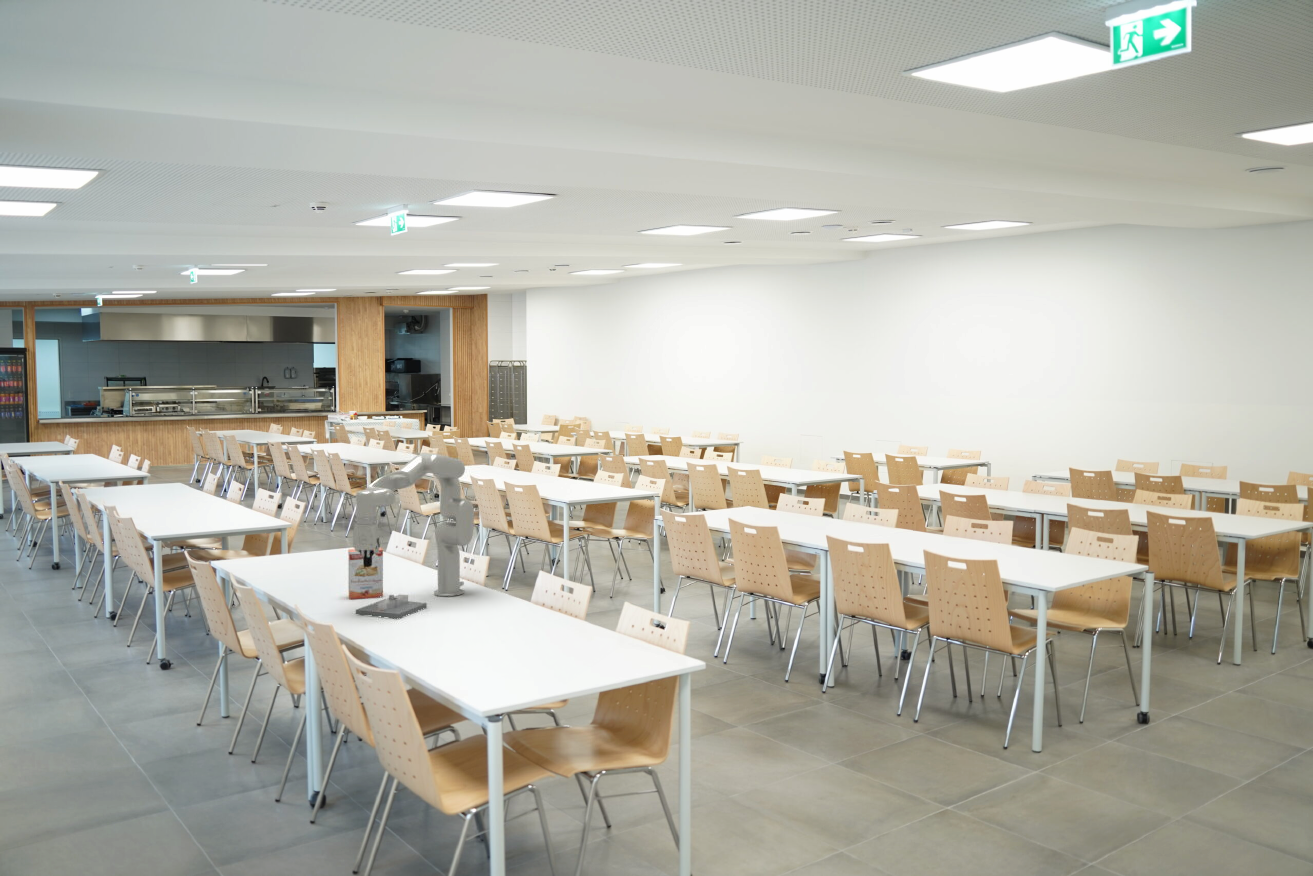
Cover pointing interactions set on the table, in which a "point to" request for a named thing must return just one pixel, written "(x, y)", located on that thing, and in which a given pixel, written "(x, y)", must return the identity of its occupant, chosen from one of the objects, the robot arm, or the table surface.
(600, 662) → the table surface
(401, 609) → the cover plate
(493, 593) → the table surface
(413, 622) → the table surface
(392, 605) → the grey long block
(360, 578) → the cracker box
